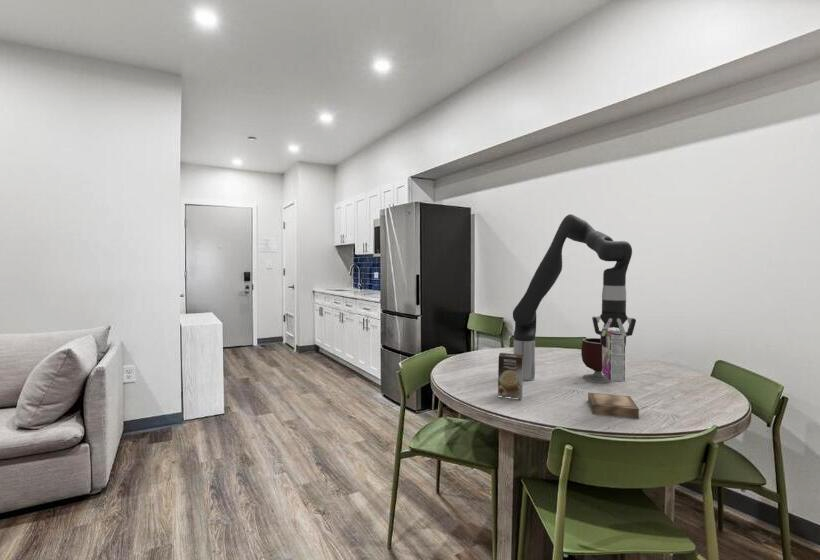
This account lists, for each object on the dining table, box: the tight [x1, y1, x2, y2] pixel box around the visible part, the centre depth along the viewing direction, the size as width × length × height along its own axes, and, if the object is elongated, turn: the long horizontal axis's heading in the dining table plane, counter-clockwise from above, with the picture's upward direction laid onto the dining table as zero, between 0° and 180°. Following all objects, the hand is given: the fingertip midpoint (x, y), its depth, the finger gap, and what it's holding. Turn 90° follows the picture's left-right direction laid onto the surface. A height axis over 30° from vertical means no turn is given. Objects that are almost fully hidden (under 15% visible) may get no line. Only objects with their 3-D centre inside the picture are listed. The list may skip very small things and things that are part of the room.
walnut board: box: [587, 392, 640, 419], centre depth 144 cm, size 14×14×3 cm
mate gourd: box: [580, 337, 614, 384], centre depth 181 cm, size 16×14×20 cm
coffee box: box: [497, 352, 524, 399], centre depth 158 cm, size 9×6×16 cm
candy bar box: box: [601, 328, 626, 383], centre depth 144 cm, size 11×5×16 cm, turn 169°
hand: (613, 346), depth 144 cm, fingers closed on candy bar box, 5 cm apart
